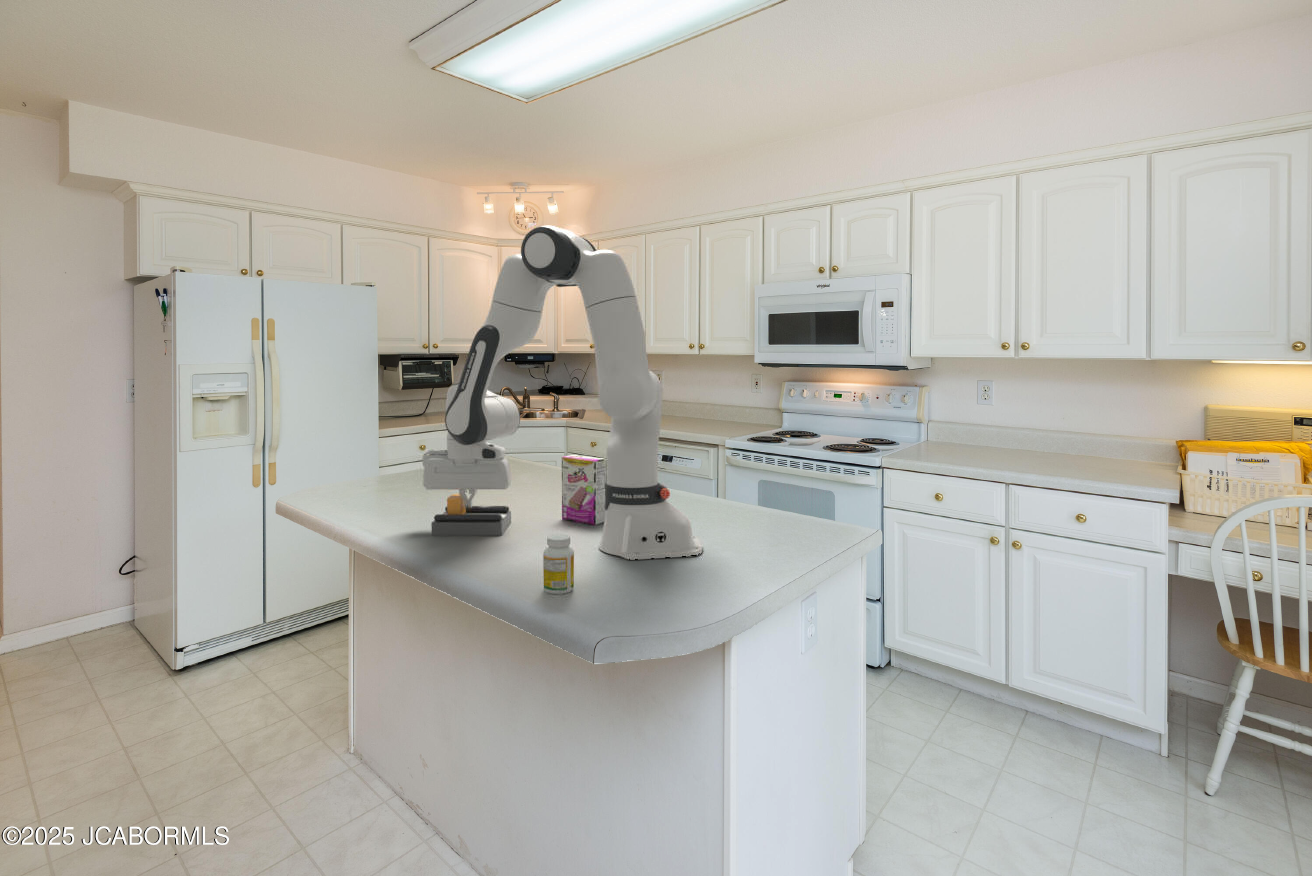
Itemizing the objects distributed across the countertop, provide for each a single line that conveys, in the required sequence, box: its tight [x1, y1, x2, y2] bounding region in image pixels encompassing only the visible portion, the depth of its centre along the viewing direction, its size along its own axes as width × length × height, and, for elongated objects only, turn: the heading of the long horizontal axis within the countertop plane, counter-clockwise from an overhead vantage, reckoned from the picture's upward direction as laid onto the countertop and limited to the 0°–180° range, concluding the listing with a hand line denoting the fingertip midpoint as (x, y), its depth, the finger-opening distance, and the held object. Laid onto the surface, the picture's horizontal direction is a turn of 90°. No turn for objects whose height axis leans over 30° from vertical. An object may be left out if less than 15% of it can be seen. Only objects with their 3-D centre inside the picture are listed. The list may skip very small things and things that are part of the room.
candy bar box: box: [561, 454, 607, 526], centre depth 162 cm, size 11×5×16 cm, turn 58°
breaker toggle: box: [446, 493, 466, 514], centre depth 153 cm, size 3×5×4 cm, turn 3°
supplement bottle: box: [542, 533, 575, 595], centre depth 113 cm, size 5×5×10 cm
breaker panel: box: [430, 505, 512, 537], centre depth 154 cm, size 16×12×5 cm
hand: (468, 507), depth 153 cm, fingers closed
